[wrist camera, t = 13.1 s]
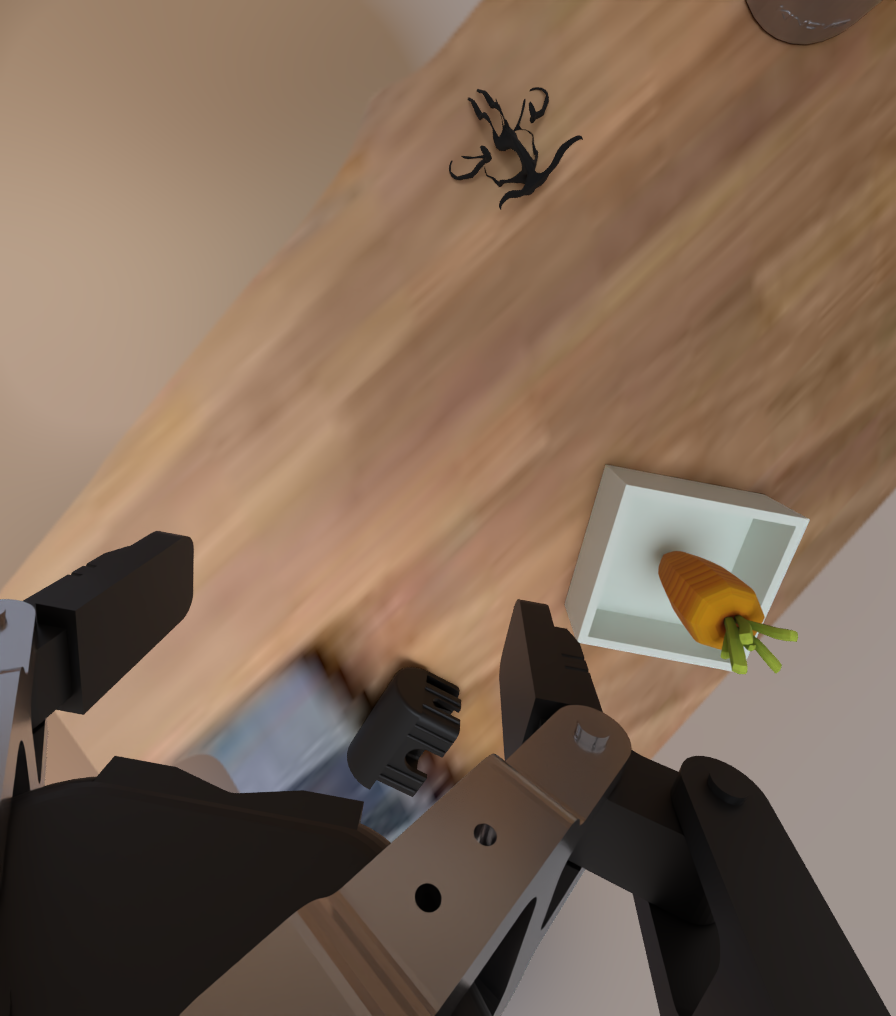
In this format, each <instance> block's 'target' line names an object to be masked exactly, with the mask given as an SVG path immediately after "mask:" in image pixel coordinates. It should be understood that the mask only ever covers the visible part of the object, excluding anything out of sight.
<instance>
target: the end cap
mask: <svg viewBox="0 0 896 1016" xmlns="http://www.w3.org/2000/svg"><path fill="white" fill-rule="evenodd" d="M458 696H459V688H458V687H457V686H456V685H454V684H452V683H450V682H448V681H446V680H444V679H442V678H440V677H438V676H436V675H434V674H432V673H430V672H428V671H426V670H423V669H419V668H414V667H408V668H404V669H401V670H400V671H398V672H397V673H396V675H395V676H394V678H393V679H392V681H391V682H390V684H389V685H388V687H387V688H386V690H385V691H384V693H383V694H382V696H381V697H380V699H379V701H378V702H377V704H376V705H375V707H374V708H373V710H372V711H371V713H370V714H369V716H368V717H367V719H366V721H365V722H364V724H363V725H362V727H361V728H360V730H359V731H358V733H357V734H356V736H355V737H354V739H353V740H352V742H351V744H350V746H349V748H348V752H347V761H348V765H349V768H350V770H351V772H352V774H353V776H354V777H355V778H356V779H357V781H358V782H359V783H360V784H362V785H363V786H364V787H366V788H368V789H369V790H370V788H371V787H372V786H373V784H374V783H375V781H376V780H378V781H380V782H382V783H384V784H386V785H388V786H390V787H393V788H395V789H397V790H399V791H401V792H403V793H405V794H407V795H409V796H411V797H413V796H414V795H415V794H416V792H417V791H418V790H419V788H420V787H421V786H422V784H423V783H424V782H425V780H426V779H427V774H425V773H423V772H421V771H419V770H417V764H418V759H419V757H420V756H421V755H422V753H423V752H424V750H428V751H430V752H432V753H434V754H436V755H438V756H440V757H443V756H444V755H445V753H446V752H447V751H448V749H449V748H450V747H451V745H452V744H453V743H454V741H455V740H456V739H457V737H458V735H459V731H460V719H458V718H456V717H454V716H452V715H451V713H452V712H453V710H454V711H456V712H458V713H459V711H460V710H461V700H460V699H458Z"/></svg>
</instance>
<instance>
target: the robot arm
mask: <svg viewBox="0 0 896 1016" xmlns="http://www.w3.org/2000/svg"><path fill="white" fill-rule="evenodd" d="M881 1H882V0H747V3H748V5H749V8H750V10H751V12H752V14H753V16H754V18H755V19H756V20H757V22H758V23H759V24H760V25H761V26H762V28H763V29H764V30H765V31H767V32H768V33H770V34H771V35H772V36H774V37H775V38H777V39H780V40H782V41H785V42H788V43H792V44H811V43H816V42H821V41H824V40H827V39H829V38H831V37H834V36H836V35H838V34H840V33H841V32H843V31H844V30H846V29H847V28H849V27H850V26H852V25H853V24H855V23H856V22H857V21H858V20H859V19H861V18H862V17H863V16H864V15H865V14H867V13H868V12H869V11H870V10H871V9H873V8H874V7H875V6H876V5H878V4H879V3H880V2H881ZM193 557H194V547H193V542H192V539H191V538H190V537H188V536H182V535H177V534H172V533H166V532H161V531H155V532H153V533H151V534H149V535H148V536H146V537H144V538H143V539H141V540H139V541H138V542H136V543H134V544H133V545H131V546H127V547H124V548H121V549H117V550H114V551H111V552H107V553H104V554H103V555H101V556H99V557H97V558H96V559H94V560H92V561H91V562H89V563H87V565H86V566H82V567H80V568H79V569H77V570H75V571H73V572H72V574H71V575H66V576H65V577H63V578H61V579H60V580H58V581H56V582H54V583H53V584H51V585H49V586H48V587H46V588H44V589H42V590H41V591H39V592H37V593H35V594H34V595H32V596H30V597H29V598H27V599H25V600H23V601H18V600H10V599H0V1016H501V1015H502V1013H503V1012H504V1010H505V1008H506V1006H507V1005H508V1003H509V1001H510V1000H511V998H512V996H513V994H514V992H515V990H516V988H517V986H518V984H519V983H520V981H521V979H522V976H523V975H524V972H525V970H526V968H527V966H528V964H529V962H530V960H531V958H532V956H533V954H534V952H535V950H536V949H537V947H538V945H539V944H540V942H541V940H542V939H543V937H544V936H545V934H546V932H547V931H548V929H549V928H550V926H551V924H552V923H553V921H554V919H555V918H556V916H557V915H558V913H559V911H560V910H561V908H562V906H563V905H564V903H565V902H566V900H567V898H568V897H569V895H570V893H571V892H572V890H573V888H574V887H575V885H576V884H577V882H578V881H579V879H580V877H581V876H582V874H583V872H584V871H585V869H587V870H588V871H590V872H592V873H594V874H596V875H598V876H600V877H602V878H604V879H606V880H608V881H609V882H611V883H613V884H616V885H617V886H619V887H621V888H623V889H625V890H627V891H629V892H631V893H633V897H634V902H635V906H636V910H637V915H638V919H639V924H640V928H641V932H642V937H643V941H644V946H645V950H646V954H647V959H648V963H649V968H650V972H651V977H652V981H653V985H654V990H655V994H656V999H657V1003H658V1007H659V1012H660V1016H891V1015H890V1013H889V1012H888V1010H887V1009H886V1006H885V1005H884V1003H883V1001H882V999H881V998H880V996H879V994H878V993H877V991H876V989H875V987H874V986H873V984H872V982H871V980H870V978H869V977H868V975H867V973H866V971H865V970H864V968H863V966H862V964H861V963H860V961H859V959H858V957H857V956H856V954H855V952H854V950H853V949H852V947H851V945H850V943H849V941H848V940H847V938H846V936H845V935H844V933H843V931H842V929H841V928H840V926H839V924H838V922H837V920H836V919H835V917H834V915H833V913H832V912H831V910H830V908H829V906H828V905H827V903H826V901H825V900H824V898H823V896H822V894H821V892H820V891H819V889H818V887H817V885H816V884H815V882H814V880H813V878H812V877H811V875H810V873H809V871H808V869H807V868H806V866H805V864H804V862H803V861H802V859H801V857H800V855H799V854H798V852H797V850H796V849H795V847H794V845H793V843H792V841H791V840H790V838H789V836H788V834H787V833H786V831H785V829H784V827H783V826H782V824H781V822H780V820H779V819H778V817H777V815H776V813H775V812H774V810H773V808H772V806H771V805H770V803H769V801H768V799H767V798H766V796H765V795H764V793H763V792H762V791H761V790H760V789H759V787H757V785H755V783H754V782H753V781H751V780H750V779H749V778H748V777H747V776H746V775H744V774H743V773H742V772H740V771H739V770H737V769H736V768H734V767H732V766H731V765H728V764H727V763H725V762H722V761H720V760H717V759H714V758H711V757H705V756H693V757H690V758H687V759H686V760H685V761H684V762H683V764H682V765H681V768H680V770H679V772H677V771H675V770H673V769H671V768H668V767H666V766H663V765H661V764H659V763H657V762H654V761H652V760H650V759H647V758H645V757H643V756H641V755H639V754H638V753H636V752H634V751H633V750H631V749H632V748H631V742H630V739H629V737H628V735H627V733H626V732H625V731H624V729H623V728H622V727H621V726H620V725H619V724H618V723H617V722H616V721H615V720H614V719H612V718H611V717H609V716H608V715H606V714H605V713H603V711H602V708H601V705H600V702H599V699H598V696H597V694H596V691H595V688H594V685H593V682H592V679H591V676H590V673H588V667H587V664H586V661H584V655H583V652H582V649H581V646H580V643H579V642H578V641H577V640H576V639H575V638H574V636H573V635H572V634H571V633H570V632H569V631H568V630H567V629H565V628H559V627H554V624H553V621H552V617H551V613H550V610H549V606H548V605H546V604H541V603H536V602H530V601H525V600H520V599H518V600H517V601H516V603H515V606H514V609H513V613H512V617H511V621H510V625H509V629H508V633H507V637H506V641H505V644H504V648H503V652H502V657H501V663H500V673H499V681H500V696H501V711H502V726H503V741H504V756H505V761H504V760H503V759H502V758H500V757H499V756H498V755H496V754H491V755H489V756H488V757H486V758H485V759H484V760H483V761H481V762H480V763H479V764H478V765H477V766H476V767H475V768H474V769H473V770H471V771H470V772H469V773H468V774H467V775H466V776H465V777H464V778H463V779H461V780H460V781H459V782H458V783H457V784H456V785H455V786H454V787H453V788H452V789H450V790H449V791H448V792H447V793H446V794H445V795H444V796H443V797H442V798H440V799H439V800H438V801H437V802H436V803H435V804H434V805H433V806H432V807H431V808H429V809H428V810H427V811H426V812H425V813H424V814H423V815H422V816H421V817H419V818H418V819H417V820H416V821H415V822H414V823H413V824H412V825H411V826H409V827H408V828H407V829H406V830H405V831H404V832H403V833H402V834H401V835H400V836H398V837H397V838H396V839H395V840H394V841H393V842H392V843H390V842H389V841H388V840H387V839H385V838H384V837H383V836H382V835H380V834H378V833H377V832H375V831H374V830H372V829H371V828H369V827H367V826H365V825H363V824H361V823H360V822H361V816H362V810H363V804H364V802H363V801H358V800H352V799H347V798H341V797H336V796H330V795H325V794H320V793H314V792H309V791H303V790H302V791H280V792H258V793H230V792H227V791H225V790H223V789H221V788H219V787H217V786H214V785H212V784H210V783H208V782H206V781H204V780H202V779H200V778H198V777H196V776H193V775H191V774H189V773H187V772H185V771H183V770H181V769H179V768H177V767H173V766H167V765H162V764H157V763H151V762H146V761H140V760H135V759H129V758H124V757H118V756H114V757H113V759H112V760H111V761H110V762H109V763H108V764H107V765H106V767H105V768H104V769H103V770H102V771H101V772H100V774H99V775H98V776H97V777H86V778H80V779H72V780H68V781H63V782H58V783H54V784H50V785H47V786H45V772H46V758H47V757H46V756H47V743H48V723H47V717H48V716H49V715H50V714H52V713H53V712H54V711H55V710H61V711H66V712H72V713H77V714H82V715H84V714H85V713H86V712H87V711H88V710H89V709H90V708H91V707H92V706H93V705H94V704H95V703H96V702H97V701H98V700H99V699H100V698H101V697H103V696H104V695H105V694H106V693H107V692H108V691H109V690H110V689H111V688H112V687H113V686H114V685H115V684H116V683H117V682H118V681H119V680H120V679H121V678H122V677H123V676H124V675H125V674H126V673H128V672H129V671H130V670H131V669H132V668H133V667H134V666H135V665H136V664H137V663H138V662H139V661H140V660H141V659H142V658H143V657H144V656H145V655H146V654H147V653H148V652H149V651H150V650H151V649H153V648H154V647H155V646H156V645H157V644H158V643H159V642H160V641H161V640H162V639H163V638H164V637H165V636H166V635H167V634H168V633H169V632H170V631H171V630H172V629H173V628H174V627H175V626H176V625H177V624H179V623H180V622H181V621H182V620H183V619H184V617H185V616H186V614H187V613H188V611H189V608H190V606H191V603H192V598H193Z"/></svg>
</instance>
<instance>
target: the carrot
mask: <svg viewBox="0 0 896 1016" xmlns="http://www.w3.org/2000/svg"><path fill="white" fill-rule="evenodd" d="M658 575H659V578H660V581H661V583H662V586H663V588H664V590H665V592H666V595H667V597H668V599H669V601H670V603H671V606H672V608H673V610H674V612H675V613H676V615H677V616H678V618H679V619H680V621H681V622H682V624H683V625H684V627H685V628H686V629H687V631H688V632H689V633H690V635H691V636H692V638H693V639H694V640H695V641H696V642H698V643H700V644H703V645H706V646H710V647H713V648H716V649H720V650H721V658H722V659H725V660H726V659H729V658H730V664H731V668H732V671H733V672H736V673H738V674H746V673H747V661H746V655H745V651H744V647H745V648H746V649H747V650H748V651H753V650H756V651H757V652H758V654H759V655H760V656H761V657H762V658H763V660H764V661H765V662H766V663H767V665H768V666H769V667H770V668H771V669H772V670H773V671H774V672H775V673H777V672H779V671H780V669H781V666H782V665H781V663H780V662H779V661H778V660H777V658H776V657H775V656H774V655H773V654H772V653H771V652H770V651H769V650H768V649H767V648H766V646H765V645H764V644H763V643H762V642H761V641H760V640H759V639H757V638H756V637H755V635H756V633H757V632H759V633H761V634H764V635H767V636H769V637H772V638H775V639H779V640H784V641H795V642H797V639H798V634H797V632H796V631H793V630H788V629H781V628H776V627H773V626H769V625H765V624H762V622H763V620H764V619H765V616H764V614H763V611H762V609H761V606H760V604H759V601H758V599H757V596H756V594H755V592H754V590H753V589H752V588H751V587H749V586H748V585H747V584H745V583H744V582H743V581H742V580H740V579H739V578H738V577H736V576H735V575H733V574H732V573H730V572H729V571H728V570H726V569H725V568H723V567H722V566H720V565H717V564H715V563H713V562H711V561H709V560H706V559H704V558H701V557H699V556H695V555H692V554H689V553H686V552H682V551H673V552H668V553H666V554H664V555H663V557H662V559H661V561H660V564H659V567H658ZM743 646H744V647H743Z"/></svg>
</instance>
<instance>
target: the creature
mask: <svg viewBox="0 0 896 1016" xmlns="http://www.w3.org/2000/svg"><path fill="white" fill-rule="evenodd" d="M535 89H539V90H542V91H543V92H544V93H545V94H546V97H545V101H544V104H543V107H542V109H541V110H540V111H538V112H536V111H535V108H534V106H533V104H532V103H531V101H530V102H529V111H530V115H531V118H530V122H531V123H534V121H535V120H536V119H538V118H540V117H542V116H543V115H544V113H545V110H546V107H547V105H548V102H549V96H548V93H547V91H546V90H545V89H543V88H539V87H536V88H532V89H530V91H532V90H535ZM477 92H479V93H482V94H483V95H484V97H485V99H486V101H487V102H488V104H489V106H490V107H491V108H496V109H497V110H498V111H499V112H500V114H502V116H503V113H502V111H501V108H500V105H499V104H498V102H497V100H496V102H494V101H493V99H492V98H491V97H490V95H489V94H488V93H487V92H486V91H484V90H480V89H477ZM468 100H469V101H470V102H471V104H472V106H473V108H474V111H475V113H476V115H477V117H478V119H479V120H481V119H483V118H485V119H486V120H487V121H488V122H489V123H490V125H491V126H492V123H491V121H490V118H489V116H488V115H487V114H486V113H485V112H483V113H482V112H481V111H480V109H479V107H478V105H477V104H476V102H475V101H474V100H473V99H471V98H468ZM524 107H525V99H524V101H523V106H522V111H521V116H520V118H519V121H518V123H517V126H516V127H515V129H514V130H512V129H511V128H510V127H509V124H508V122H507V120H506V119H504V116H503V119H504V125H503V121H502V125H503V130H502V133H501V135H500V137H498V135H497V133H496V131H495V130H494V128H493V126H492V129H493V139H494V143H495V146H496V148H497V149H498V150H500V151H506V150H508V149H512V150H514V151H515V152H516V153H517V154H518V156H519V158H520V161H521V164H522V171H521V172H519V173H518V174H517V175H516V176H514V177H513V178H511V179H508V180H500V181H497V180H496V179H495V178H494V177H491V176H488V175H487V174H486V175H487V176H488V177H490V178H492V179H493V180H494V182H495V183H496V184H497V185H498V186H499V187H501V186H502V185H503V184H504V183H523V184H525V185H524V187H523V188H522V190H512V191H509V192H507V193H506V194H505V195H504V196H503V197H502V199H501V201H500V204H499V208H500V209H501V206H502V204H503V203H504V202H505V201H506V200H508V199H509V198H518V197H521V196H524V195H530V194H532V193H533V192H534V190H535V189H536V188H537V187H539V186H541V185H542V184H543V183H544V182H545V181H546V179H547V177H548V176H549V174H550V173H551V172H552V171H553V170H554V169H555V167H556V166H557V165H558V164H559V161H560V160H561V158H562V156H563V154H564V152H565V151H566V150H567V149H568V148H569V147H570V146H571V145H572V144H573V143H574V142H576V141H578V140H580V139H582V140H583V138H582V136H575V137H573V138H571V139H570V140H568V141H567V142H565V143H564V144H562V145H561V147H560V148H559V149H558V151H557V152H556V154H555V157H554V159H553V161H552V163H551V165H550V166H549V167H548V168H547V169H546V170H545V171H544V172H542V173H537V172H536V171H535V168H536V163H537V159H538V151H537V150H536V148H535V145H534V137H533V141H532V144H533V153H534V155H535V159H534V160H533V159H532V158H531V156H530V155H529V153H528V152H527V150H526V149H525V148H524V146H523V145H522V144H521V142H520V141H519V140H518V138H517V135H516V133H515V131H516V130H520V129H521V127H520V126H519V124H520V121H521V117H522V114H523V111H524ZM502 116H501V119H502ZM521 130H524V129H521ZM526 131H527V130H526ZM528 132H529V131H528ZM529 133H530V132H529ZM530 134H532V133H530ZM532 136H533V134H532ZM480 148H481V151H482V153H483V155H482V156H477V157H468V156H462V157H463V158H466V159H472V158H483V160H481V161H480V162H479V163H478V164H477V165H476V167H475V168H474V170H473V171H472V172H471V173H468V174H465V175H462V176H458V177H457V176H456V175H454V174H453V173H452V172H451V163H452V161H451V163H450V166H449V172H450V174H451V176H452V177H453V178H454V179H456V180H463V179H469V178H473V177H474V176H475V175H476V174H477V173H478V171H479V170H480V169H481V168H482V167H483V165H484V164H485V163H488V162H490V161H491V160H492V157H491V154H490V152H489V151H488V149H487V148H486V147H485V146H480ZM484 168H485V166H484ZM485 173H486V170H485Z"/></svg>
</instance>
